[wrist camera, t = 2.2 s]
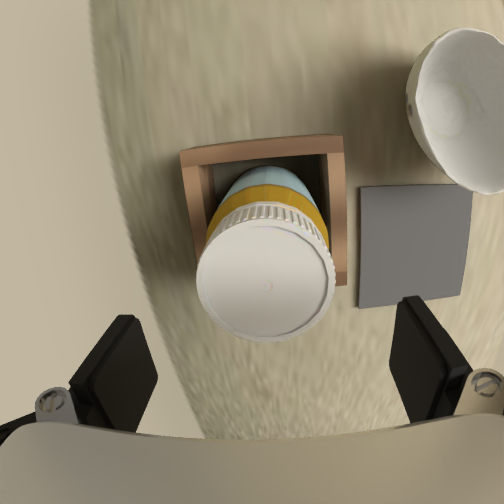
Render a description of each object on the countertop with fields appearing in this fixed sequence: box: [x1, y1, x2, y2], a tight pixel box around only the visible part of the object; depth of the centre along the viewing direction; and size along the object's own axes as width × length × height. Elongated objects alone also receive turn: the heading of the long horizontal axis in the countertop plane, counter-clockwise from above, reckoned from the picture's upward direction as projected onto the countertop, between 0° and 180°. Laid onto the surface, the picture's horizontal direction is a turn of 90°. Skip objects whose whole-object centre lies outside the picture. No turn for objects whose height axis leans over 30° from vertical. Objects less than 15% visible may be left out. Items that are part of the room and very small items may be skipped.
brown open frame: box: [179, 134, 347, 286], centre depth 25 cm, size 11×11×5 cm
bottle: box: [196, 165, 336, 342], centre depth 21 cm, size 7×7×15 cm
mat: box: [358, 184, 473, 309], centre depth 28 cm, size 12×12×1 cm
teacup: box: [406, 27, 504, 195], centre depth 19 cm, size 15×12×8 cm
